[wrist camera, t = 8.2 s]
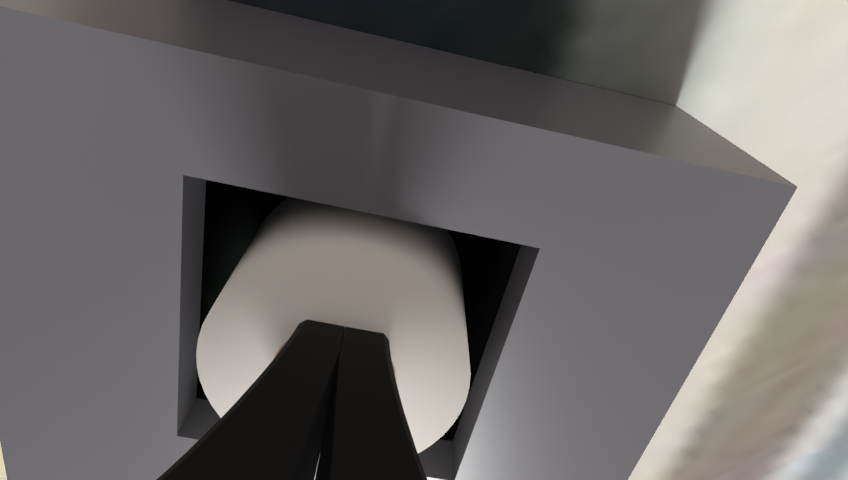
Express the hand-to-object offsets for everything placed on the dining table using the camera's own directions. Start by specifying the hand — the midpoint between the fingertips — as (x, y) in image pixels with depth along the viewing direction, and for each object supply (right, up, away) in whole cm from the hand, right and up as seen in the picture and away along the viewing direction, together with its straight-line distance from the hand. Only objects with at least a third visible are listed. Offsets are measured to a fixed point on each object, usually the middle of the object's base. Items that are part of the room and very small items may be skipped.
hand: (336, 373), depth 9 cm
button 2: (0, +1, +3) cm, 3 cm away
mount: (-2, -4, +8) cm, 9 cm away
